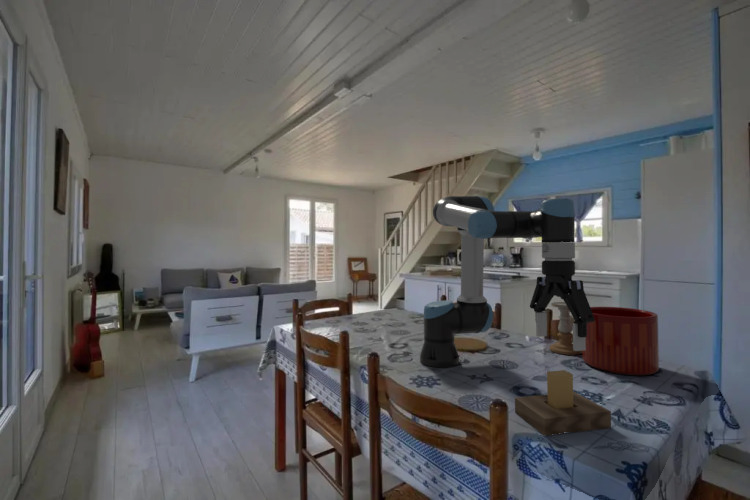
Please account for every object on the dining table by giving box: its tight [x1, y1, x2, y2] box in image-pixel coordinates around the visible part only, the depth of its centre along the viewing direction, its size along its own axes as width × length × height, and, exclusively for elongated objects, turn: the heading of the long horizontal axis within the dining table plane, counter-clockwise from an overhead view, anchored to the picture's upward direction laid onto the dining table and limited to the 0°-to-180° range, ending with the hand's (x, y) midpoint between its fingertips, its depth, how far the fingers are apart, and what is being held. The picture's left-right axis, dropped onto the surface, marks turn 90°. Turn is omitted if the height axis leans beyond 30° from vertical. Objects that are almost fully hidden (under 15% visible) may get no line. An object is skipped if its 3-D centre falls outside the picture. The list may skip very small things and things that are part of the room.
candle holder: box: [549, 301, 582, 356], centre depth 148 cm, size 12×12×20 cm
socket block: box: [514, 391, 612, 437], centre depth 88 cm, size 18×12×4 cm, turn 100°
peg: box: [546, 369, 574, 409], centre depth 88 cm, size 3×5×12 cm, turn 101°
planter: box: [581, 306, 660, 377], centre depth 128 cm, size 23×23×20 cm
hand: (559, 342), depth 89 cm, fingers open, 13 cm apart
